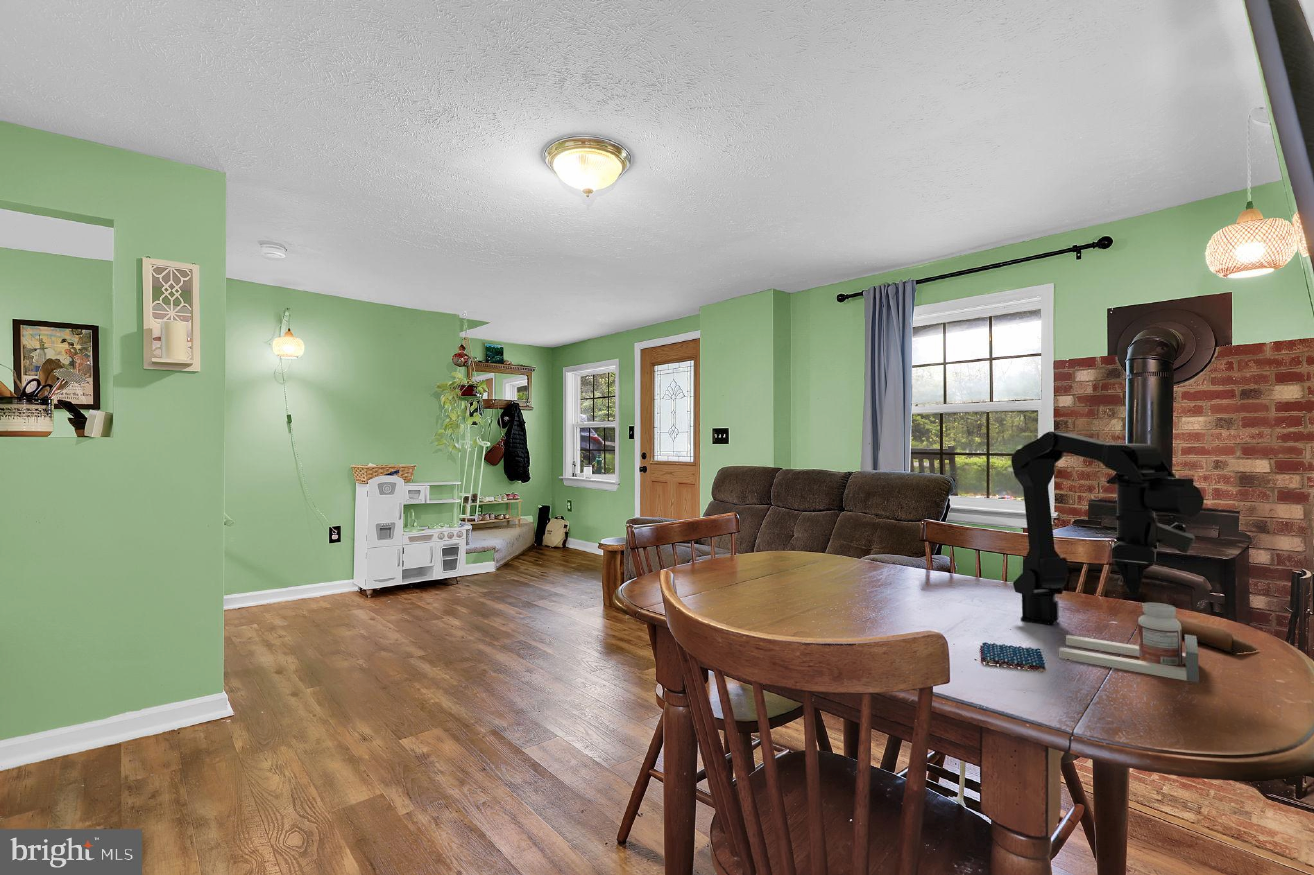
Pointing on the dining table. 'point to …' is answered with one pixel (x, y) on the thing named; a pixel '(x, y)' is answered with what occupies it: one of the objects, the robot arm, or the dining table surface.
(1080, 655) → the guide track
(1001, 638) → the dining table surface
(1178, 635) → the pill bottle
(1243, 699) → the dining table surface
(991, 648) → the woven mat
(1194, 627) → the sunglasses case
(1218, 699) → the dining table surface
